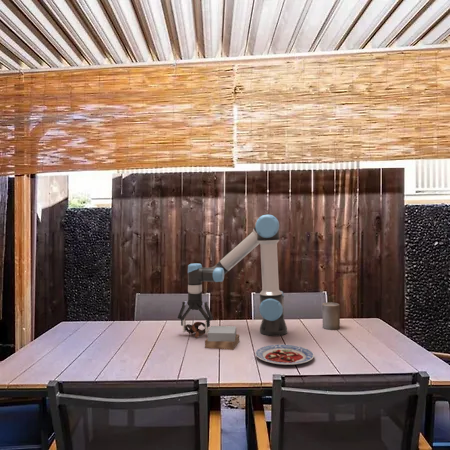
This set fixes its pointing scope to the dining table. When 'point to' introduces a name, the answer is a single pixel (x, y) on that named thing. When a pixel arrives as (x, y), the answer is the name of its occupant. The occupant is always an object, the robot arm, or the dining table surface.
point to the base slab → (222, 344)
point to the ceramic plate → (284, 354)
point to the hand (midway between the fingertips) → (195, 332)
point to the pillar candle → (331, 315)
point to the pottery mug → (195, 329)
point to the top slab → (222, 333)
